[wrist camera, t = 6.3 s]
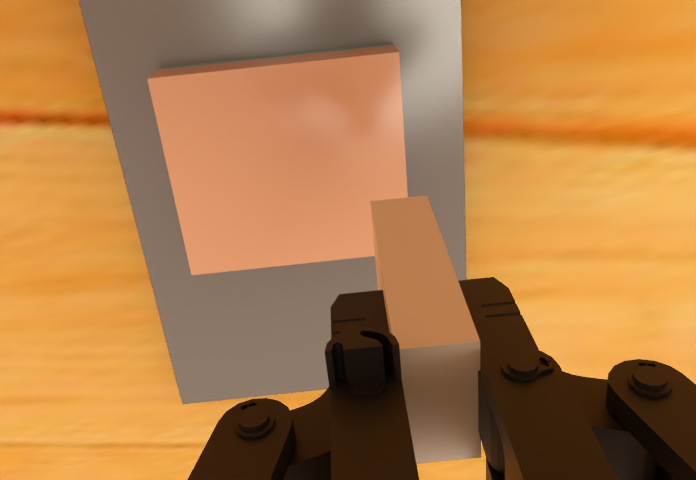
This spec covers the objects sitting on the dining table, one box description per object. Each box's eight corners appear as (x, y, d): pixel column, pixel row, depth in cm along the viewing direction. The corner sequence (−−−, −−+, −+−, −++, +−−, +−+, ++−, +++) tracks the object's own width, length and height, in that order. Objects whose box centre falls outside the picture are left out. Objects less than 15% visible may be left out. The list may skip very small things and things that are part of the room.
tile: (393, 42, 25) (158, 67, 25) (398, 52, 24) (147, 78, 24) (405, 231, 29) (199, 253, 29) (411, 252, 27) (191, 275, 27)
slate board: (45, -166, 23) (34, -170, 22) (450, -209, 23) (456, -214, 22) (186, 391, 33) (182, 404, 32) (464, 361, 33) (468, 373, 32)
